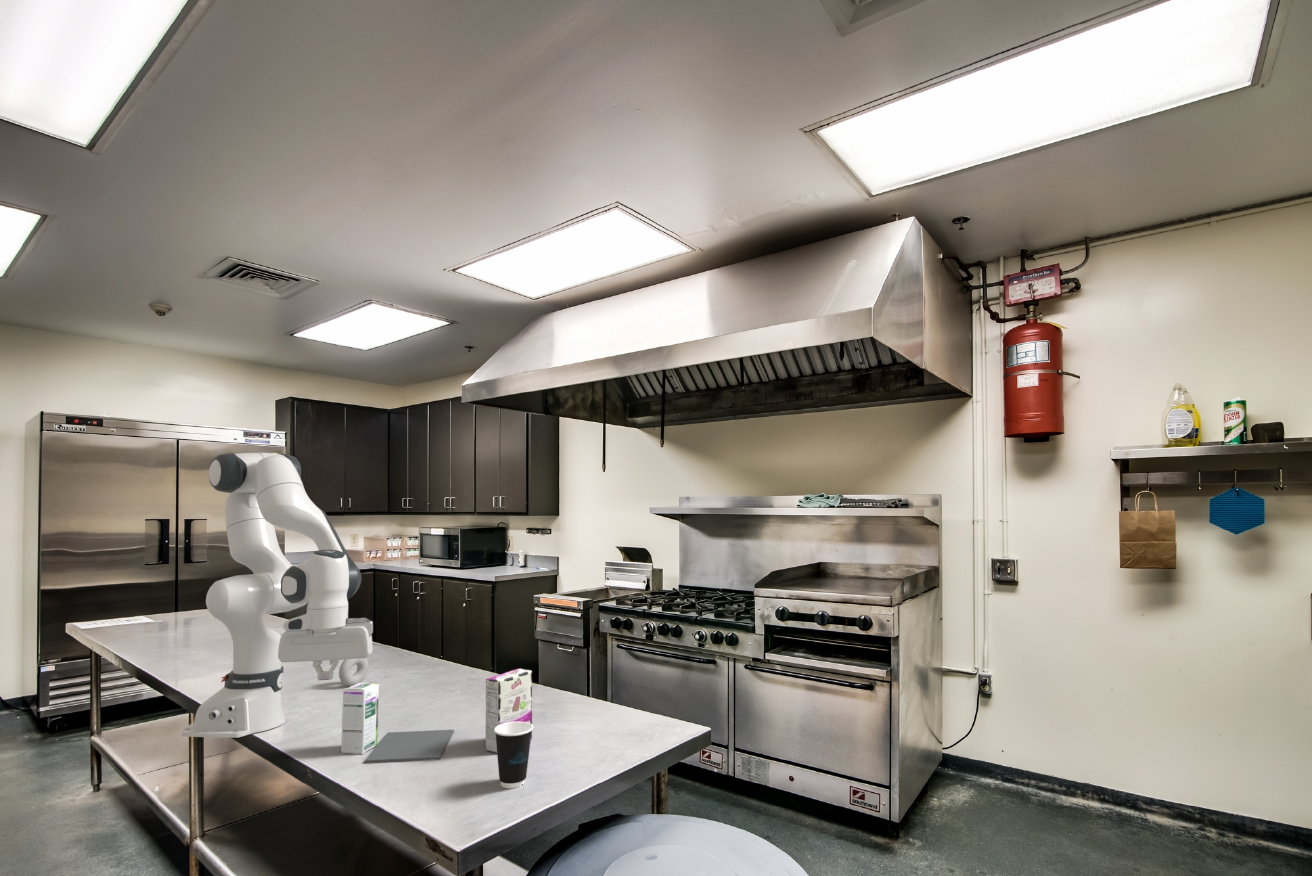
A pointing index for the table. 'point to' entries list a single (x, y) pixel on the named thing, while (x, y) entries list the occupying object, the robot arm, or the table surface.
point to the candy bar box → (507, 702)
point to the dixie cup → (513, 752)
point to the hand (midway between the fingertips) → (325, 679)
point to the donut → (346, 671)
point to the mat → (410, 746)
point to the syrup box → (360, 718)
